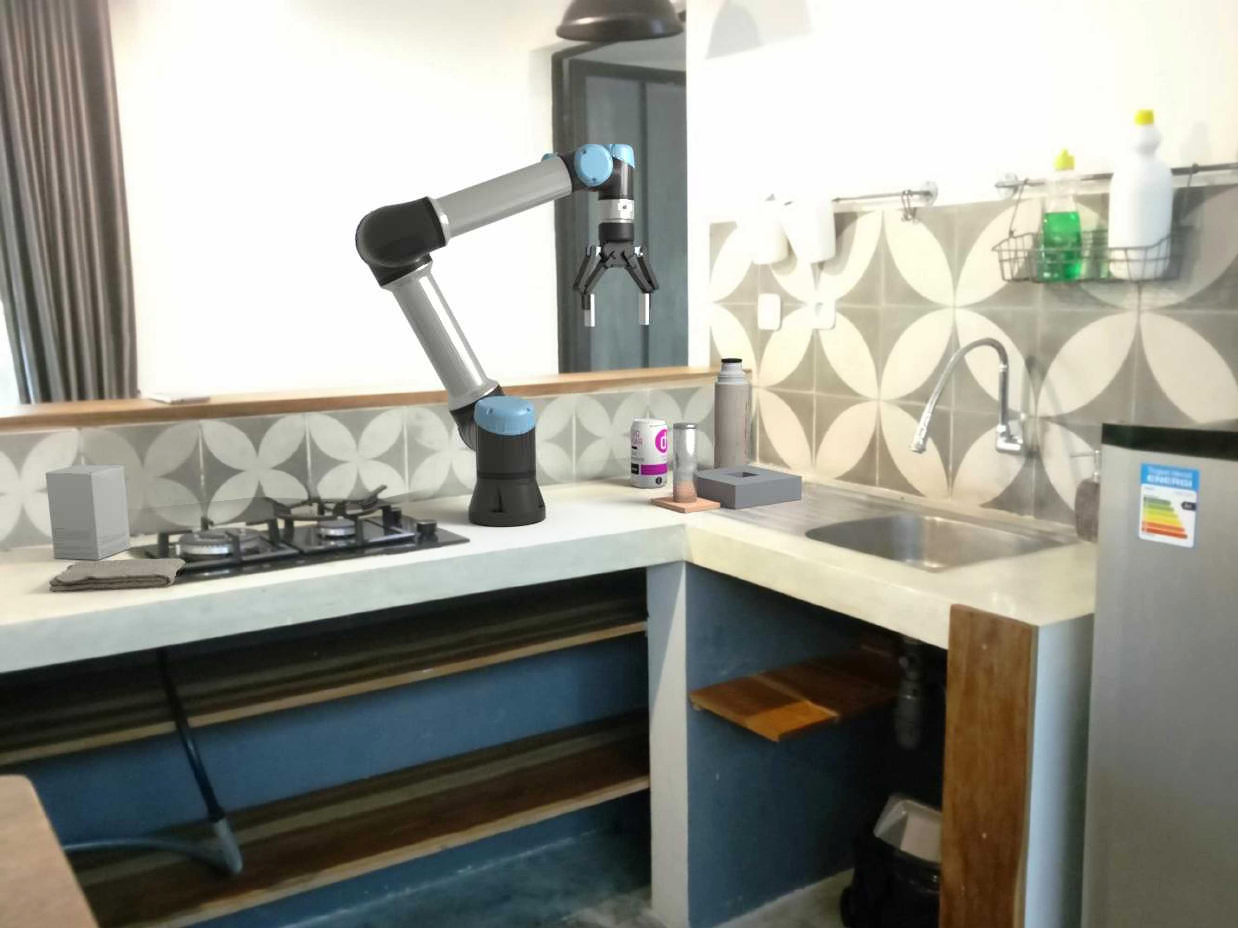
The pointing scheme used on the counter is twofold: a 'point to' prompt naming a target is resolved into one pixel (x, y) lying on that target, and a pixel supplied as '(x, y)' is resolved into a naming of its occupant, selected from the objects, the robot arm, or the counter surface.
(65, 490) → the supplement box
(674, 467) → the shiny metal cylinder
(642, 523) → the counter surface
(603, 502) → the counter surface
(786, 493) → the block
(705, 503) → the pad
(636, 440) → the supplement can
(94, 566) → the washcloth
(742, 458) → the thermos bottle
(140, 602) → the counter surface
